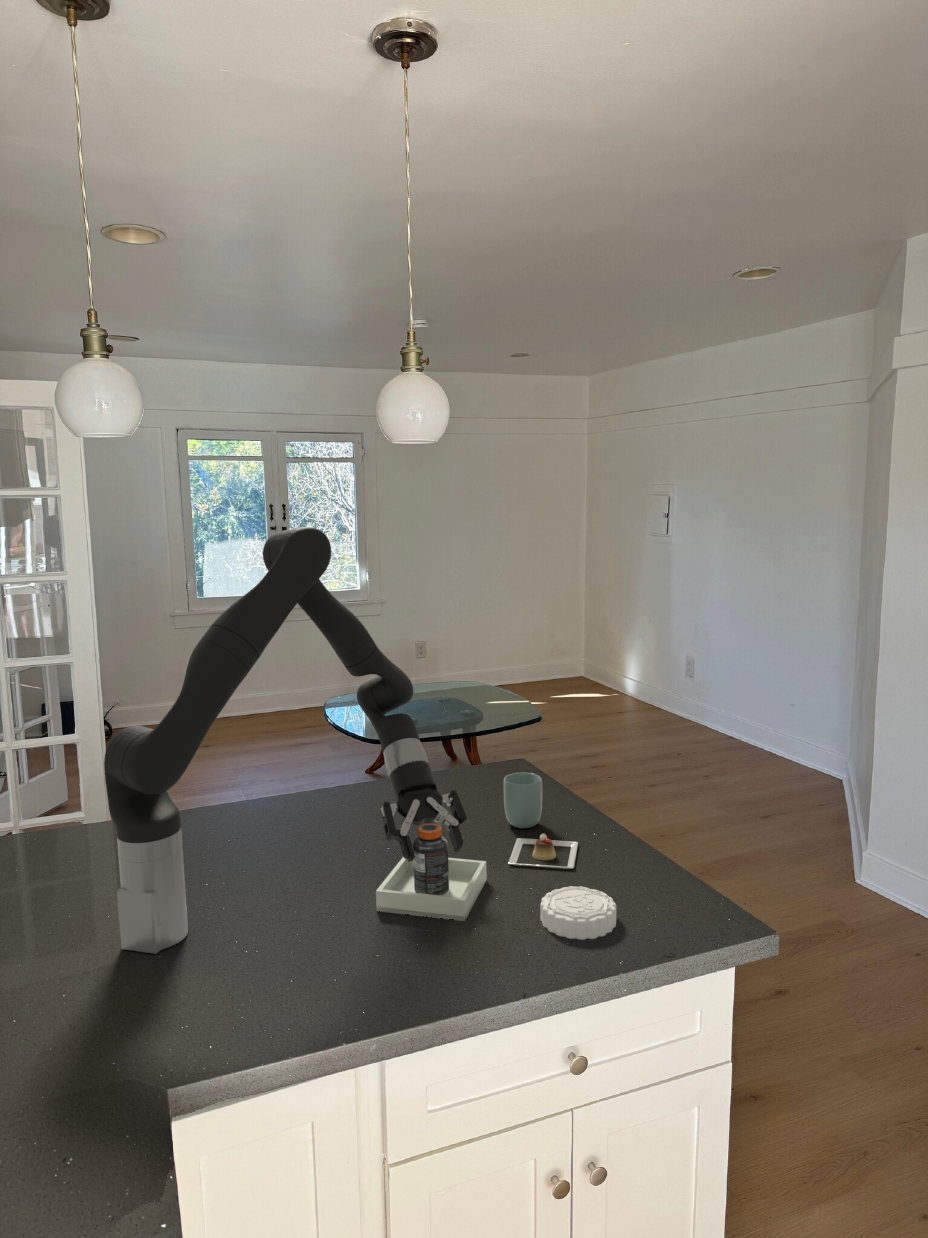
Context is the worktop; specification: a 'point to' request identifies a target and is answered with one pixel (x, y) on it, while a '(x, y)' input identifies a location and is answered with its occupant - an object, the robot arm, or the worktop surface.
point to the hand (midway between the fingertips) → (435, 854)
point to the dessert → (544, 851)
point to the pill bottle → (431, 861)
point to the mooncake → (578, 912)
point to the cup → (523, 799)
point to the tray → (451, 905)
